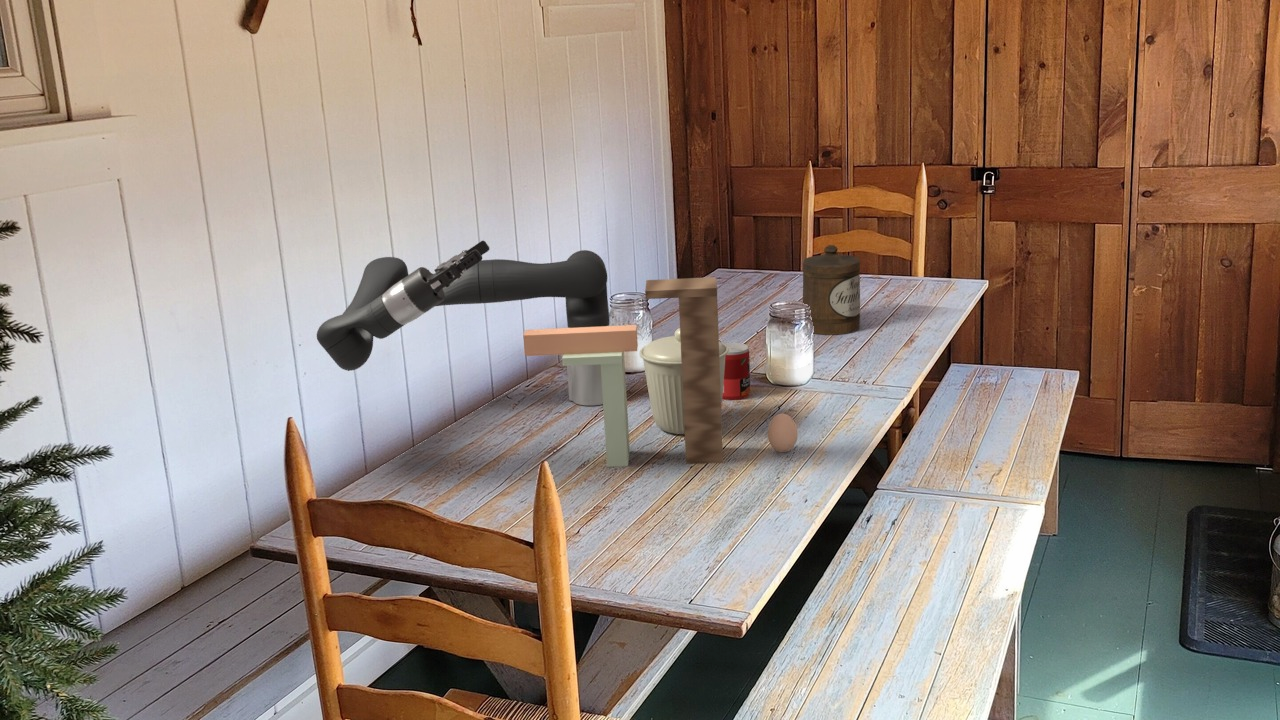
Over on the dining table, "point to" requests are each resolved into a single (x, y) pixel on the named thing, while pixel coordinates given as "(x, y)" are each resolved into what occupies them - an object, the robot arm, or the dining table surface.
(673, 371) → the canister
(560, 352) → the peach rectangular bar
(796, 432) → the egg
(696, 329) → the walnut stand
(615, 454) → the sage ledge
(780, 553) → the dining table surface
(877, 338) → the dining table surface
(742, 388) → the canned food
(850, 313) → the wooden container
